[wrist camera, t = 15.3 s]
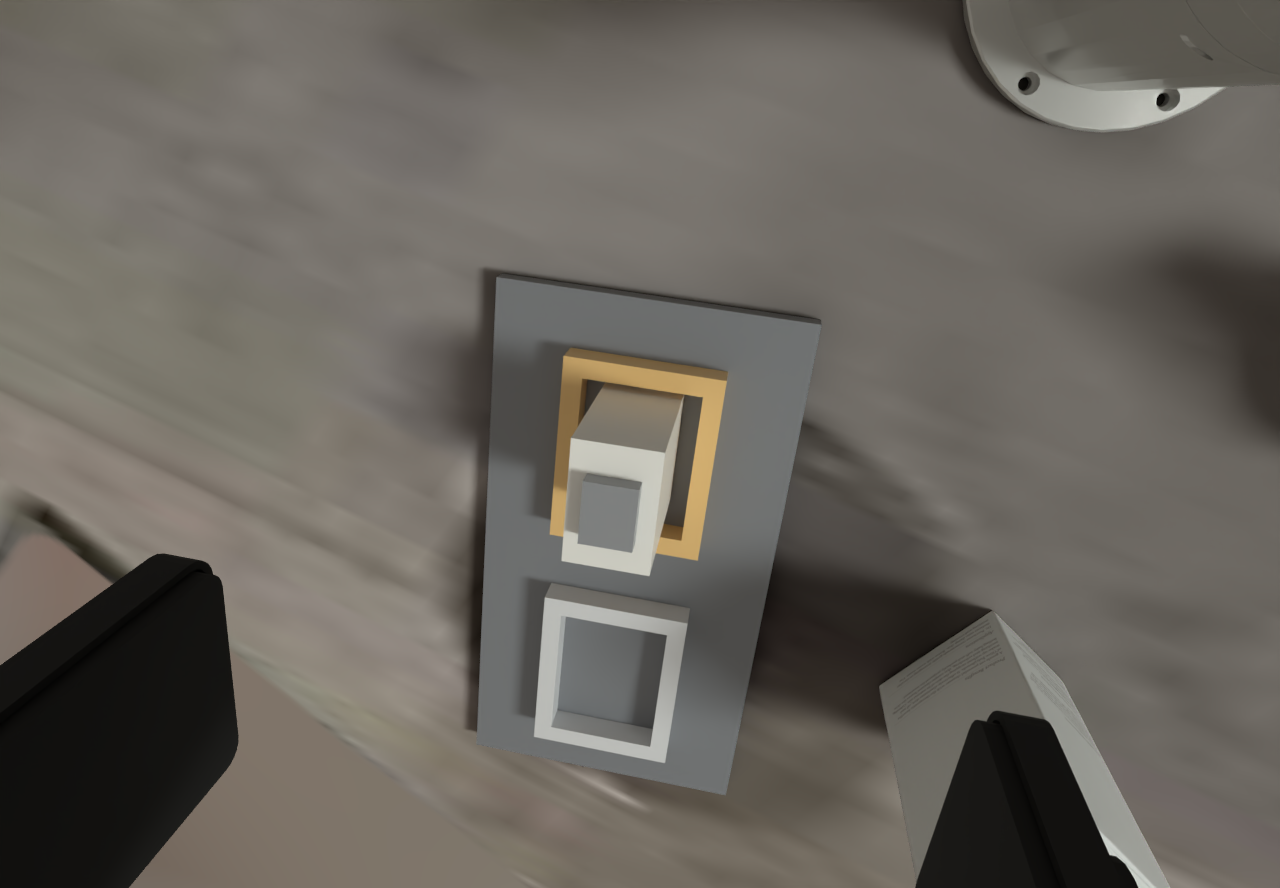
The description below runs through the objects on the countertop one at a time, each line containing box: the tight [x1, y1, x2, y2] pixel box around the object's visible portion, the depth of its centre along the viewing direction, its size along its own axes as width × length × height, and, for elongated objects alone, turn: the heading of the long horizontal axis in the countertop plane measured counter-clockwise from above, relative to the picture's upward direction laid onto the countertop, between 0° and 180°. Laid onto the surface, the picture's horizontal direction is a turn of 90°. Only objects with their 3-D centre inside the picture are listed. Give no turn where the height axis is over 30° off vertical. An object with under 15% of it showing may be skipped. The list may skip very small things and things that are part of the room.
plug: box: [561, 382, 684, 576], centre depth 39 cm, size 4×6×9 cm, turn 174°
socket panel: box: [477, 273, 822, 795], centre depth 46 cm, size 16×30×2 cm, turn 173°
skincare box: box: [879, 611, 1170, 888], centre depth 39 cm, size 8×7×16 cm
